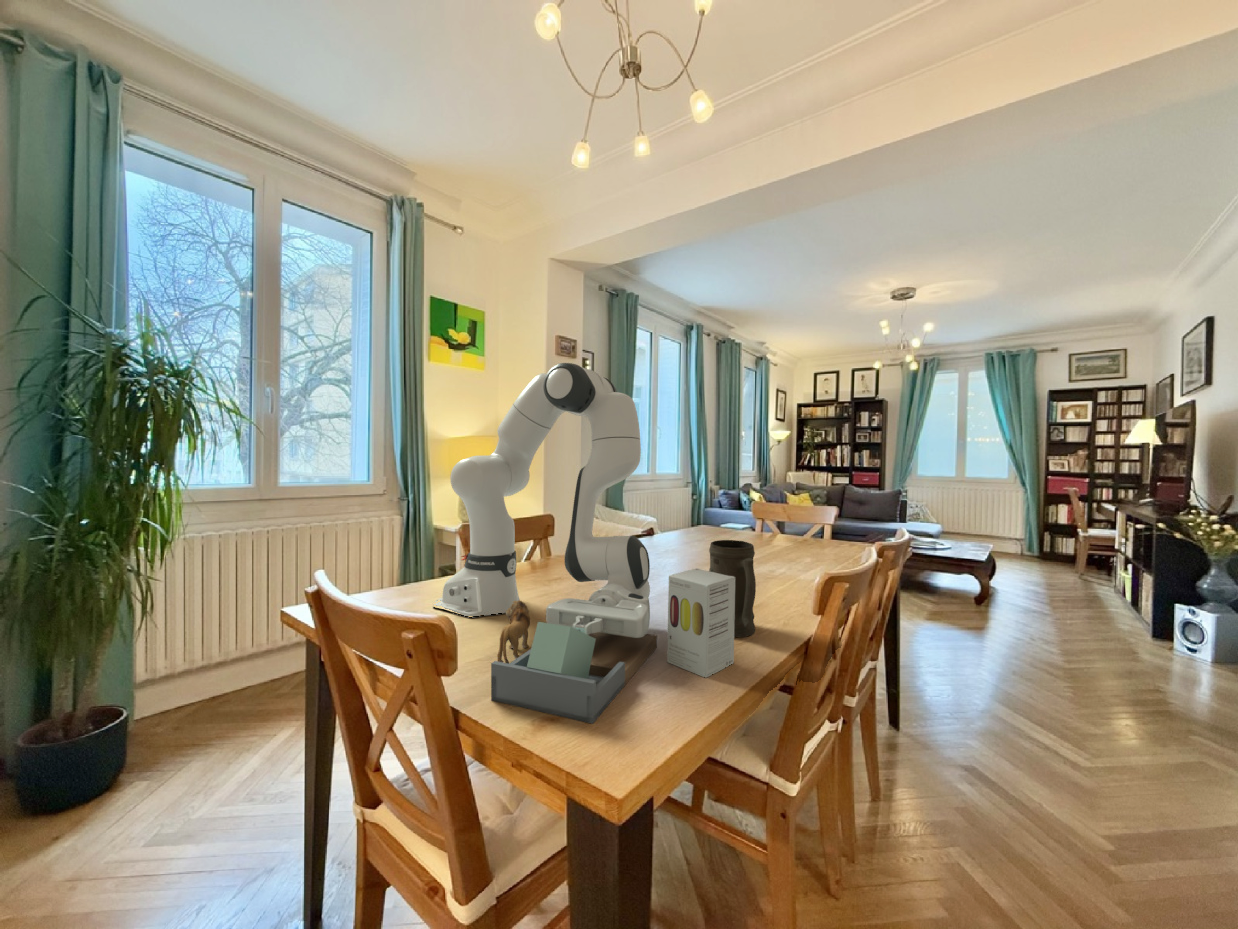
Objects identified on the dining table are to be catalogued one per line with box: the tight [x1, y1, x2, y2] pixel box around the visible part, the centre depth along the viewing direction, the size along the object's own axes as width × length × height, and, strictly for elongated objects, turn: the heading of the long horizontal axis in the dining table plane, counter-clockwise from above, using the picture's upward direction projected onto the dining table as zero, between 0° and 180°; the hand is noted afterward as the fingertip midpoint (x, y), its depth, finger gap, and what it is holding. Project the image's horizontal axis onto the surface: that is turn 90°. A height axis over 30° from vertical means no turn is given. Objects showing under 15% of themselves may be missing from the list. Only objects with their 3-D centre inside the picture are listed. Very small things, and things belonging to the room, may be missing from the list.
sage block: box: [527, 621, 596, 679], centre depth 83 cm, size 6×7×11 cm
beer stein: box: [708, 539, 757, 638], centre depth 110 cm, size 15×11×20 cm
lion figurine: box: [496, 600, 531, 664], centre depth 98 cm, size 15×5×9 cm, turn 4°
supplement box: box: [666, 568, 735, 678], centre depth 94 cm, size 10×9×17 cm
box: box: [490, 648, 626, 724], centre depth 82 cm, size 18×13×6 cm
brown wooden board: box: [589, 632, 658, 686], centre depth 97 cm, size 18×18×2 cm
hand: (579, 630), depth 89 cm, fingers closed
